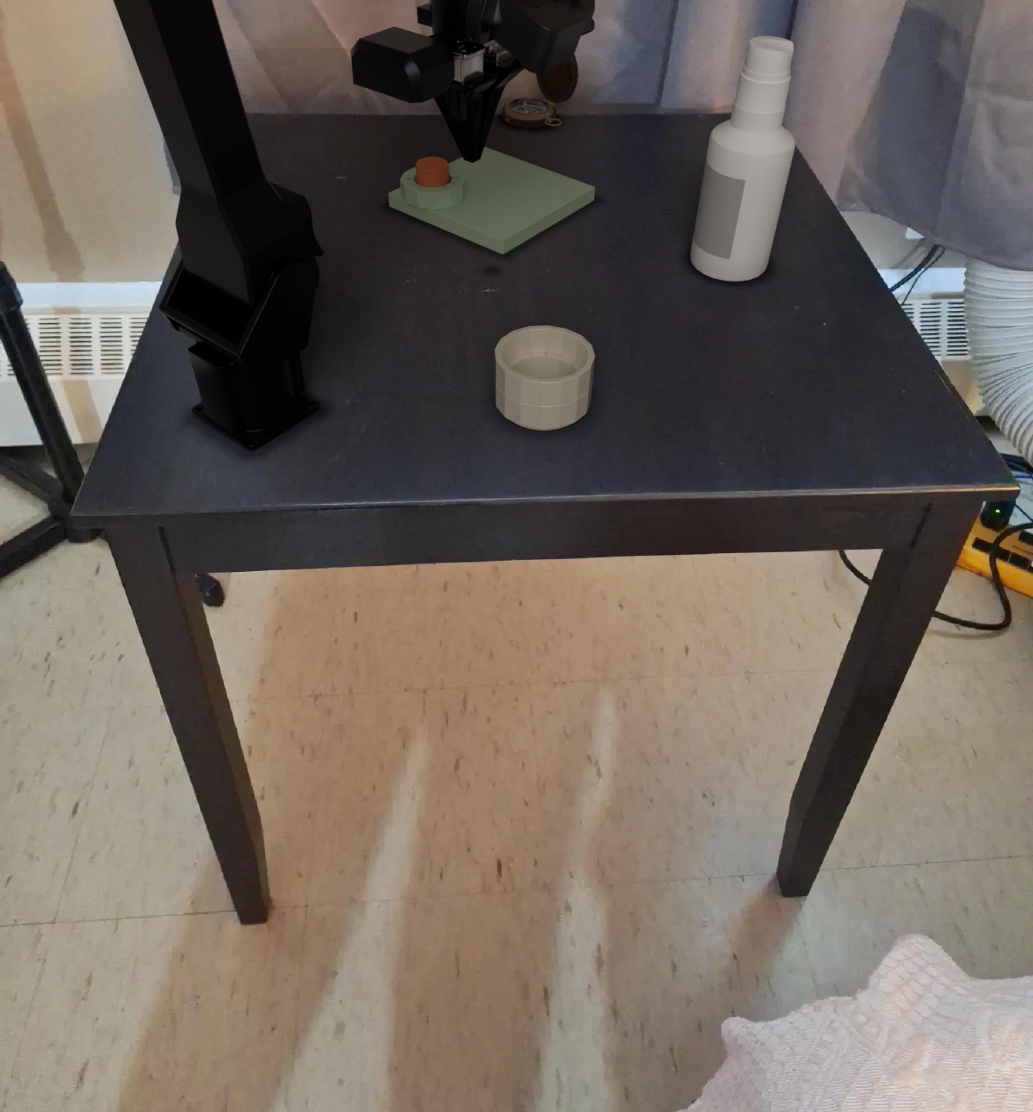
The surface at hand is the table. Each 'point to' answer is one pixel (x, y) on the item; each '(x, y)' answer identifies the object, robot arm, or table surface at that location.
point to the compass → (554, 88)
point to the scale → (493, 200)
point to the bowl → (543, 377)
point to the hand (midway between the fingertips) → (471, 160)
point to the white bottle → (746, 169)
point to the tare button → (432, 172)
